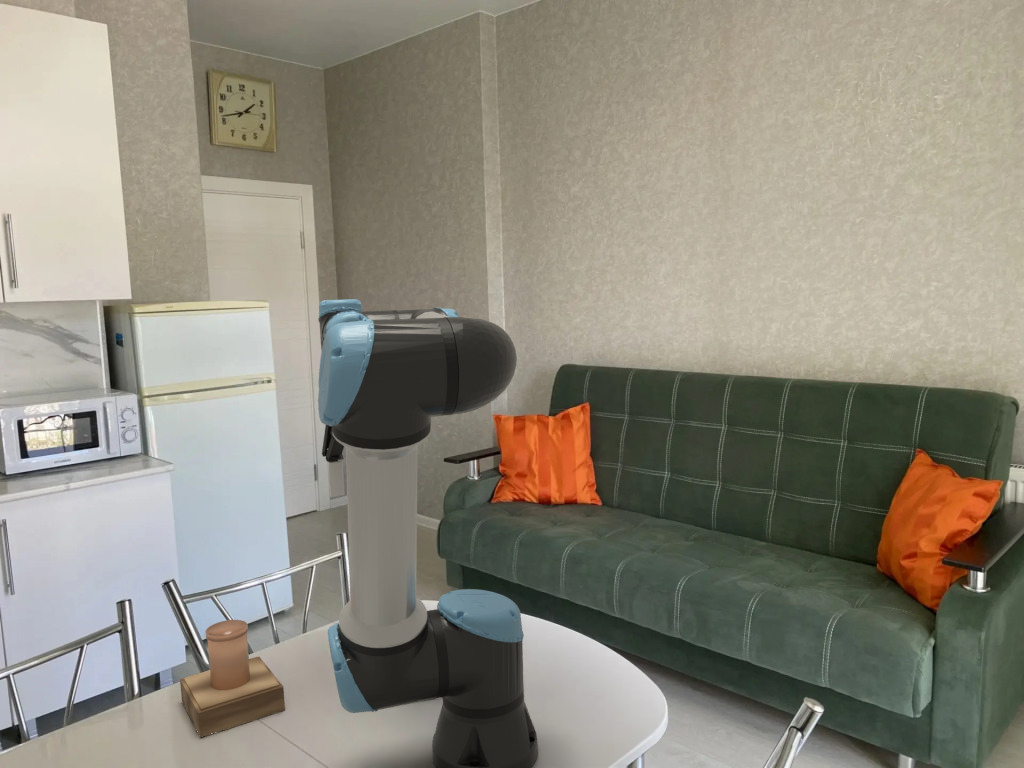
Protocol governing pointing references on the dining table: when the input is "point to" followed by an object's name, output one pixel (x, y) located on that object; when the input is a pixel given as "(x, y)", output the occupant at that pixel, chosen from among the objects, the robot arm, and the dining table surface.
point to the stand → (232, 699)
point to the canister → (228, 654)
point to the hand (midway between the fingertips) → (351, 503)
